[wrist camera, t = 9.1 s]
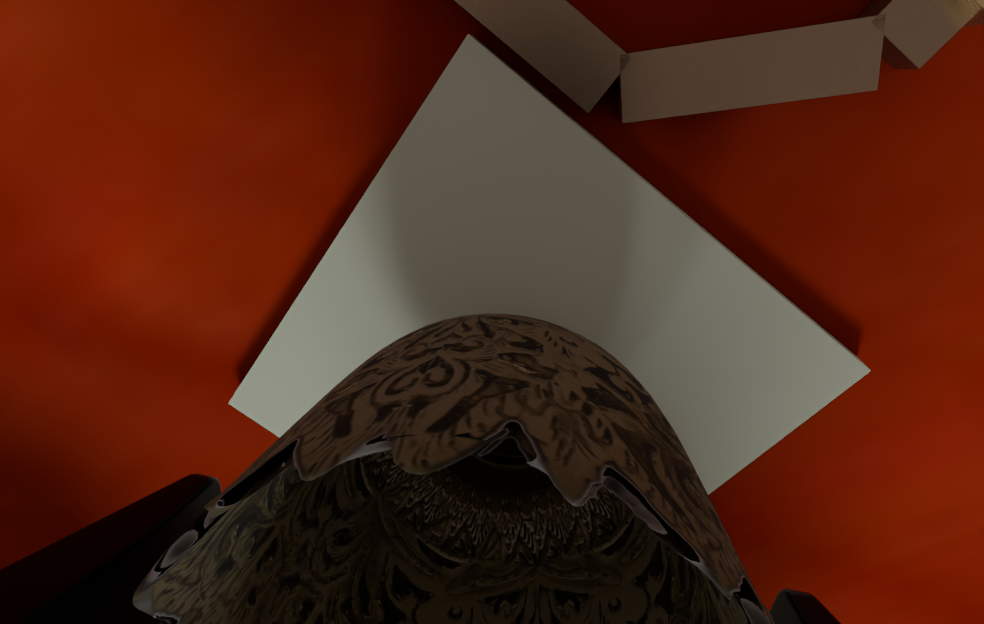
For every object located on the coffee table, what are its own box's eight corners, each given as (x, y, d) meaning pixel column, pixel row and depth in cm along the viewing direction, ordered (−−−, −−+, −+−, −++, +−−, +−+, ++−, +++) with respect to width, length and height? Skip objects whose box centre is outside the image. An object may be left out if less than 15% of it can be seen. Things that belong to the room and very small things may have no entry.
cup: (688, 489, 14) (815, 944, 7) (412, 512, 16) (272, 903, 8) (655, 198, 11) (810, 430, 4) (326, 259, 13) (2, 509, 6)
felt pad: (858, 358, 13) (870, 370, 12) (549, 598, 17) (548, 616, 16) (473, 35, 11) (468, 33, 11) (240, 391, 15) (227, 403, 15)
